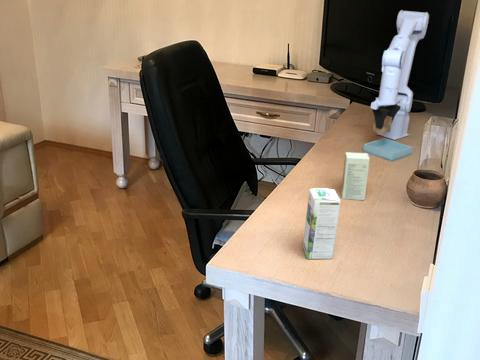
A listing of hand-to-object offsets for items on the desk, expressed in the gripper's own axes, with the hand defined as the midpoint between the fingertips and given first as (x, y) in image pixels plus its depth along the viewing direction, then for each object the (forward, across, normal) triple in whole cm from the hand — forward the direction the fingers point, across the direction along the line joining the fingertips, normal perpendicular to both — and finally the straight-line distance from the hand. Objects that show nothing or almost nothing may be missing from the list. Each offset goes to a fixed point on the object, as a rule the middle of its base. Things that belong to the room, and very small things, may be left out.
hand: (383, 127), depth 176 cm
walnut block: (+2, 0, 0) cm, 2 cm away
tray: (+8, -1, +3) cm, 9 cm away
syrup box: (+9, +67, +33) cm, 75 cm away
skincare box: (+9, +37, +18) cm, 42 cm away
